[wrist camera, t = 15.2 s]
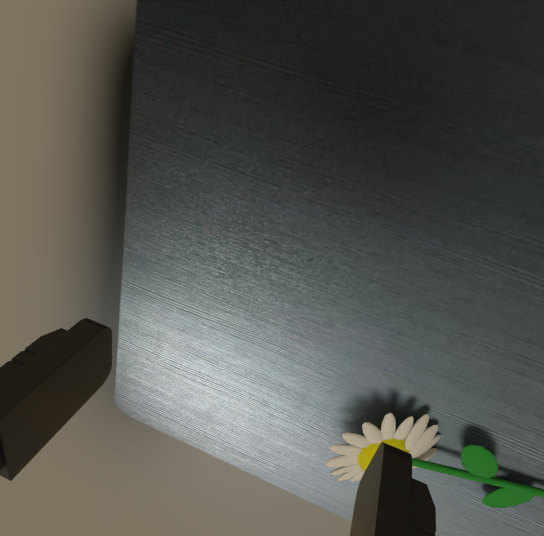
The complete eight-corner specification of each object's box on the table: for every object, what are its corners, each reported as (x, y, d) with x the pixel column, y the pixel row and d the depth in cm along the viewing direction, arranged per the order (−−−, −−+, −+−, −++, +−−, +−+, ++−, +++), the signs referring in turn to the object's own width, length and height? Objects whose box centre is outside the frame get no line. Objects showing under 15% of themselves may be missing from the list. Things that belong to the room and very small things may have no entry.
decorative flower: (640, 449, 41) (340, 381, 44) (669, 497, 37) (337, 419, 40) (574, 513, 48) (319, 451, 51) (593, 559, 44) (315, 489, 47)
